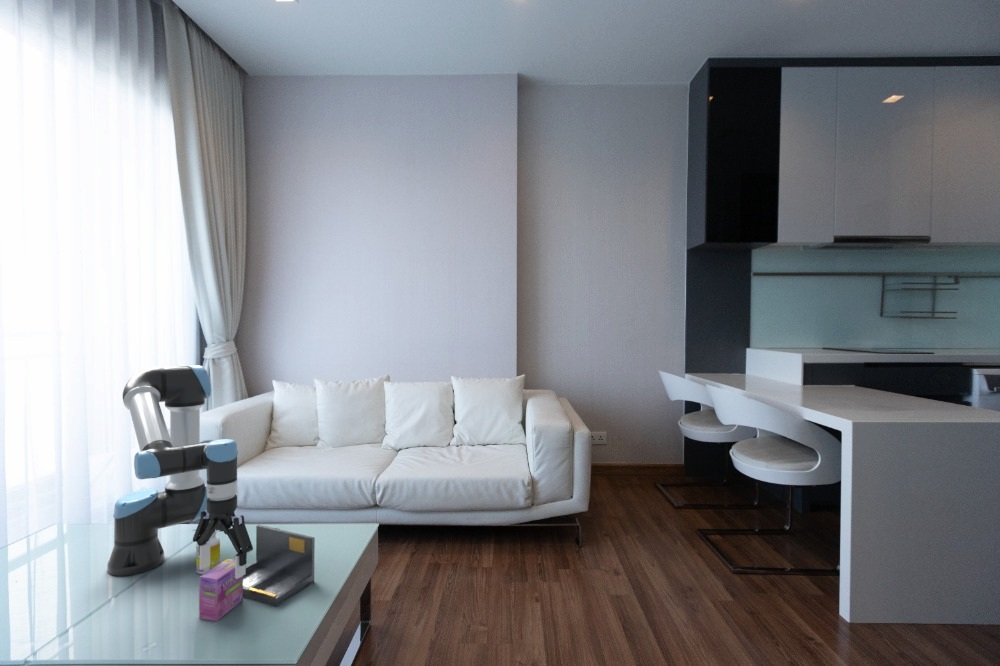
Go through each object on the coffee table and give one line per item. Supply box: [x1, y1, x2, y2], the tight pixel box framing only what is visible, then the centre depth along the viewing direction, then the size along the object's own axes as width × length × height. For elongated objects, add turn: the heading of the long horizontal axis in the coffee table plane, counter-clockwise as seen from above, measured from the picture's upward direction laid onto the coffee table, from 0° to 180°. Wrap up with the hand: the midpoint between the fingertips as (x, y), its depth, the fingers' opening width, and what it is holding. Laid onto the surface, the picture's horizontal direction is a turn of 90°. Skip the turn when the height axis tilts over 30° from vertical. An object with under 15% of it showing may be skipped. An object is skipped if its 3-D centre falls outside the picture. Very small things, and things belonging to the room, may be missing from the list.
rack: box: [243, 524, 316, 608], centre depth 155 cm, size 23×15×14 cm, turn 68°
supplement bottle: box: [195, 530, 221, 575], centre depth 164 cm, size 7×7×13 cm
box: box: [198, 558, 244, 622], centre depth 142 cm, size 10×6×12 cm, turn 168°
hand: (222, 571), depth 142 cm, fingers open, 13 cm apart
